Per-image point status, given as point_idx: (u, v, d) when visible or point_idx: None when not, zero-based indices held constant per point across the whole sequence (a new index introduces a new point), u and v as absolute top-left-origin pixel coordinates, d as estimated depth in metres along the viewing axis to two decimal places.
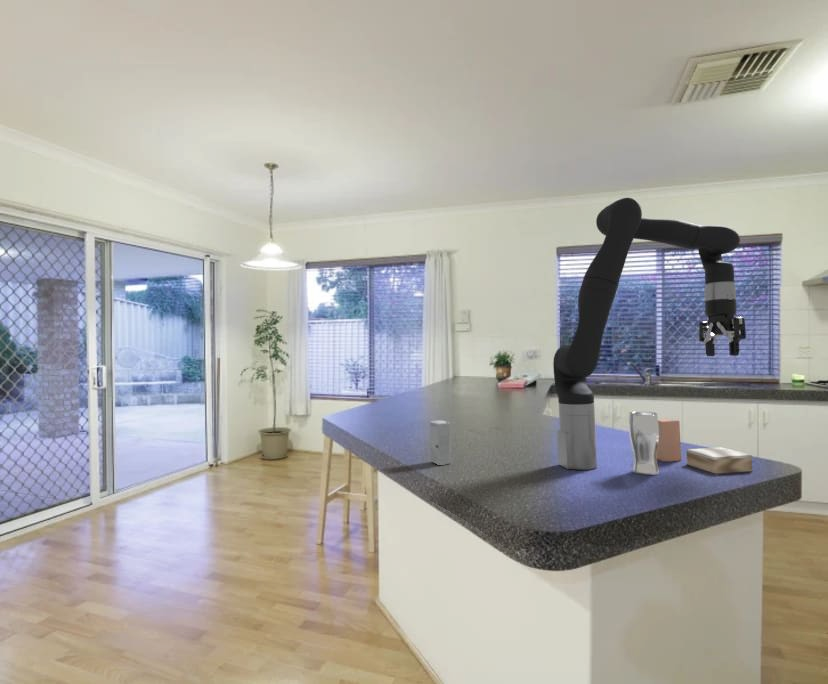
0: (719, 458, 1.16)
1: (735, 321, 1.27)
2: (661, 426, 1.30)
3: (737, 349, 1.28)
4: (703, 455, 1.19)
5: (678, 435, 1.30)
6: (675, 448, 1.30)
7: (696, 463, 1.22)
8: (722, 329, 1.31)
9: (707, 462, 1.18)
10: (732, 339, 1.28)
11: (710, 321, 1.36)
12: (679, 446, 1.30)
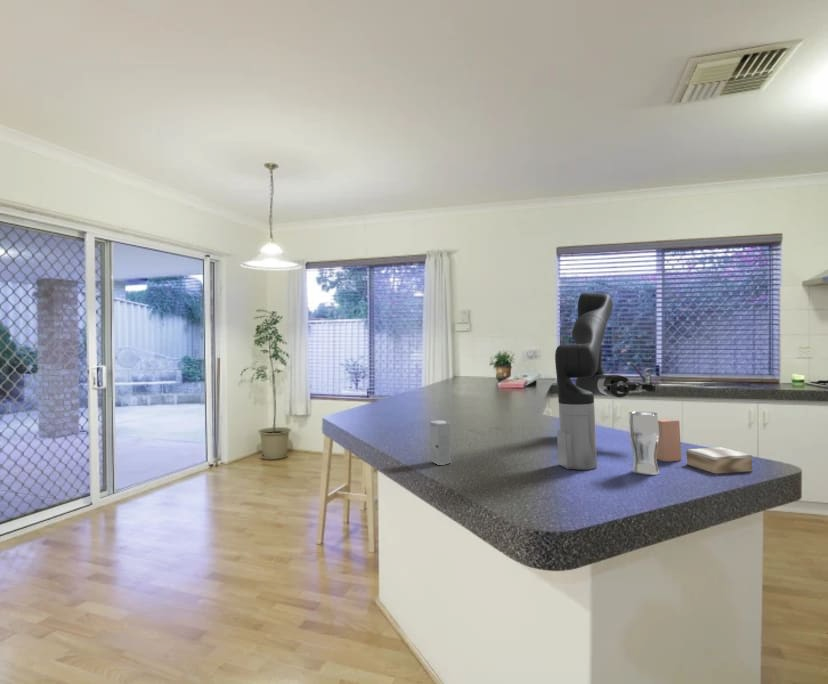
0: (719, 458, 1.16)
1: (643, 382, 1.54)
2: (661, 426, 1.30)
3: None
4: (703, 455, 1.19)
5: (678, 435, 1.30)
6: (675, 448, 1.30)
7: (696, 463, 1.22)
8: None
9: (707, 462, 1.18)
10: None
11: (615, 383, 1.54)
12: (679, 446, 1.30)
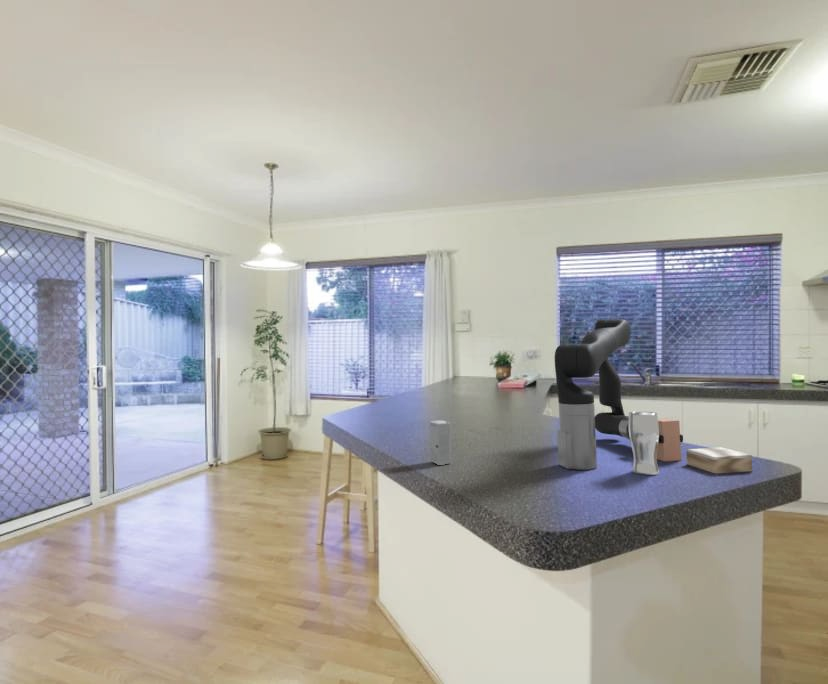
0: (719, 458, 1.16)
1: None
2: (661, 426, 1.30)
3: None
4: (703, 455, 1.19)
5: (678, 435, 1.30)
6: (675, 448, 1.30)
7: (696, 463, 1.22)
8: None
9: (707, 462, 1.18)
10: None
11: None
12: (679, 446, 1.30)
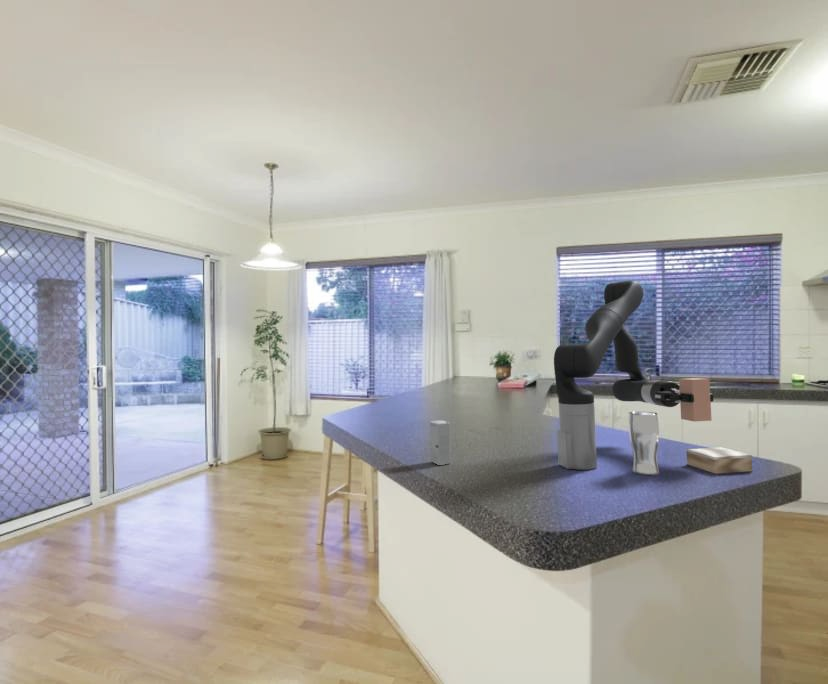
0: (719, 458, 1.16)
1: None
2: (691, 384, 1.24)
3: None
4: (703, 455, 1.19)
5: (708, 394, 1.24)
6: (705, 408, 1.24)
7: (696, 463, 1.22)
8: None
9: (707, 462, 1.18)
10: None
11: (665, 391, 1.34)
12: (709, 405, 1.24)
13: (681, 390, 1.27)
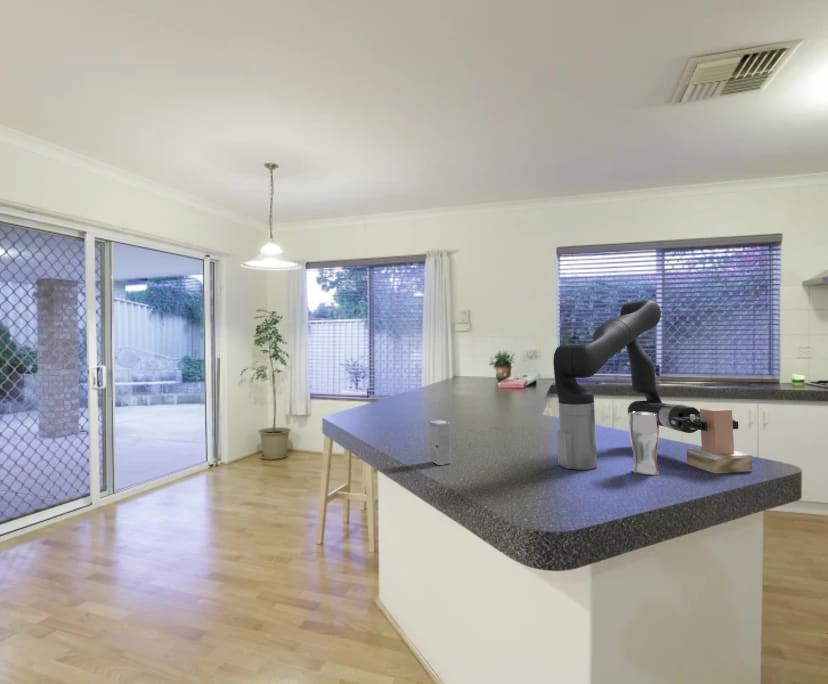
0: (719, 458, 1.16)
1: None
2: (712, 416, 1.19)
3: None
4: (703, 455, 1.19)
5: (731, 426, 1.19)
6: (728, 440, 1.19)
7: (696, 463, 1.22)
8: None
9: (707, 462, 1.18)
10: None
11: (685, 417, 1.29)
12: (732, 438, 1.19)
13: None
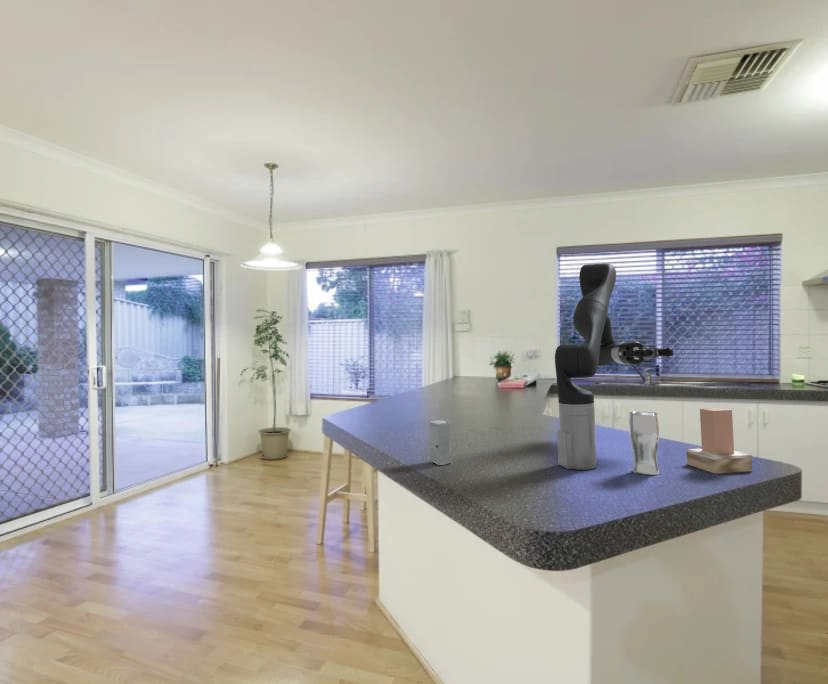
0: (719, 458, 1.16)
1: None
2: (712, 416, 1.19)
3: None
4: (703, 455, 1.19)
5: (731, 426, 1.19)
6: (728, 440, 1.19)
7: (696, 463, 1.22)
8: (650, 347, 1.47)
9: (707, 462, 1.18)
10: None
11: None
12: (732, 438, 1.19)
13: (702, 421, 1.23)
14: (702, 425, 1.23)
